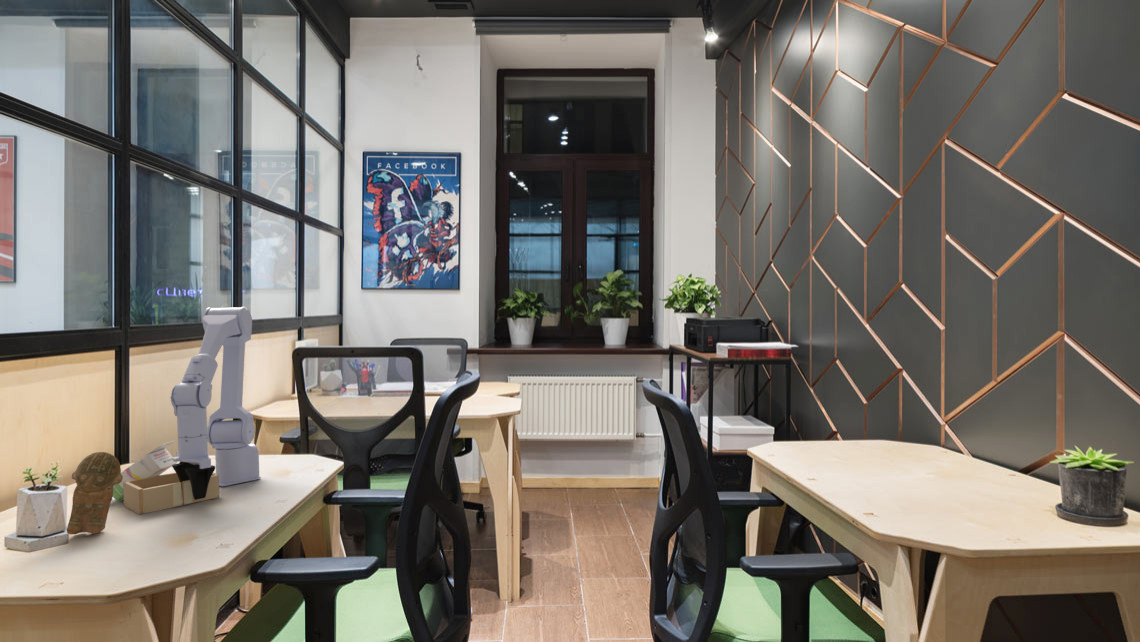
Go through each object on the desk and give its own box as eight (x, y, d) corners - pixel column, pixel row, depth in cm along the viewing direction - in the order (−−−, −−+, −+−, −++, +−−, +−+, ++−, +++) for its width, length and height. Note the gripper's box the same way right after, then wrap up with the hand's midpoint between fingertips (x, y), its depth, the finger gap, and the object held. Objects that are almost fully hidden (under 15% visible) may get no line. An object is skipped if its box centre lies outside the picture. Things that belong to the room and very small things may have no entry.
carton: (201, 489, 157) (200, 467, 157) (219, 497, 150) (218, 474, 150) (123, 505, 145) (123, 482, 145) (139, 514, 138) (138, 489, 138)
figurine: (65, 542, 122) (63, 461, 122) (74, 529, 129) (72, 454, 129) (119, 534, 126) (117, 456, 125) (126, 522, 133) (123, 449, 133)
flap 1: (180, 504, 144) (179, 482, 144) (182, 505, 143) (181, 482, 143) (143, 512, 138) (142, 489, 138) (144, 513, 138) (143, 489, 138)
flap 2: (217, 496, 150) (216, 475, 150) (218, 497, 149) (218, 475, 149) (182, 504, 144) (181, 481, 144) (184, 504, 144) (183, 482, 143)
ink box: (116, 502, 148) (172, 461, 149) (102, 485, 147) (158, 444, 149) (136, 493, 156) (189, 454, 158) (123, 477, 156) (176, 438, 157)
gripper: (161, 435, 147) (162, 494, 147) (185, 442, 138) (186, 506, 138) (194, 430, 152) (196, 488, 153) (220, 436, 143) (222, 498, 143)
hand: (194, 496), depth 146 cm, fingers open, 6 cm apart
